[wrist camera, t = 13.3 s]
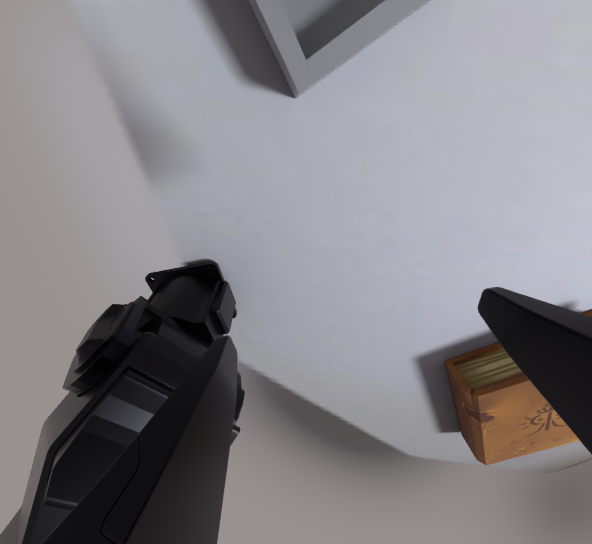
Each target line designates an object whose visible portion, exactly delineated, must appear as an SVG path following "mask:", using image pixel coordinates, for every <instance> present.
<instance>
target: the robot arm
mask: <svg viewBox="0 0 592 544" xmlns="http://www.w3.org/2000/svg"><path fill="white" fill-rule="evenodd" d="M210 266H213V267H214V269H212V268H211V267H210ZM151 278H153V279H154V280H152V279H151ZM145 280H146V282H147V283H148V285H149V287H150V289H151V290H152V292H153V293H152V295H151V296H150V298H149V299H148V300H146V299H145V298H143V297H142V296H140V297H139V298H138V299H137V300H135V301H134V302H131V303H129V304H128V305H127V304H125V305H120V304H112V305H111V306H110V307H109V308H108V309H107V310H106V311H105V312H104V313H103V314H102V315H101V316H100V317H99V318H98V319H97V321H96V322H95V323H94V324H93V325H92V326H91V328H90V329H89V330H88V331H87V333H86V335H85V336H84V338H83V340H82V341H81V343H80V344H79V346H78V347H77V349H76V355H75V356H74V358H73V361H72V363H71V366H70V369H69V371H68V374H67V377H66V379H65V382H64V385H63V389H65V390H68V391H70V392H69V393H68V395H67V396H66V397H65V398H64V399H63V401H62V402H61V403H60V404H59V405H58V407H57V408H56V409H55V410H54V411H53V412H52V413H51V415H50V416H49V417H48V418H47V420H46V421H45V422H44V424H43V427H42V430H41V434H40V438H39V442H38V446H37V449H36V454H35V457H34V461H33V465H32V469H31V473H30V477H29V480H28V484H27V488H26V492H25V496H24V500H23V504H22V506H21V508H20V509H19V511H18V512H17V513H16V515H15V516H14V518H13V519H12V520H11V521H10V523H9V524H8V525H7V527H6V528H5V529H4V531H3V532H2V533H1V534H0V544H217V540H218V532H219V525H220V517H221V510H222V503H223V495H224V487H225V480H226V473H227V465H228V458H229V450H230V446H231V444H232V443H233V441H234V440H235V438H236V437H237V435H238V434H239V432H240V427H238V426H236V422H237V420H238V418H239V414H240V411H241V408H242V406H243V401H244V393H245V392H244V390H243V389H242V388H241V376H240V373H239V372H238V370H237V351H236V348H235V346H234V344H233V342H232V339H231V337H230V336H223V335H224V334H228V333H229V331H230V327H231V322H232V318H235V317H236V315H237V311H236V308H235V304H236V301H235V299H234V296H233V294H232V291H231V289H230V286H229V284H228V282H226V281H224V278H223V276H222V273H221V271H220V268H219V266H218V264H217V263H216V262H206V263H200V264H195V265H190V266H185V267H179V268H174V269H169V270H163V271H159V272H153V273H149V274H148V275H147V276H146V278H145ZM478 311H479V313H480V315H481V317H482V318H483V319H484V321H485V322H486V324H487V325H488V327H489V328H490V330H491V331H492V333H493V334H494V335H495V337H496V338H497V340H498V341H499V343H500V344H501V346H502V347H503V348H504V350H505V351H506V352H507V354H508V355H509V356H510V358H511V359H512V360H513V361H514V362H515V364H516V365H517V366H518V367H519V368H520V370H521V371H522V372H523V373H524V374H525V375H526V377H527V378H528V379H529V380H530V381H531V383H532V384H533V385H534V386H535V387H536V389H537V390H538V391H539V392H540V393H541V395H542V396H543V397H544V398H545V399H546V401H547V402H548V403H549V404H550V405H551V407H552V408H553V409H554V410H555V411H556V413H557V414H558V415H559V416H560V417H561V419H562V420H563V421H564V422H565V423H566V425H567V426H568V427H569V428H570V429H571V430H572V432H573V433H574V434H575V435H576V436H577V438H578V439H579V440H580V441H581V442H582V444H583V445H584V446H585V447H586V448H587V450H588V451H589V452H590V453H591V454H592V317H590V316H587V315H583V314H580V313H577V312H574V311H571V310H568V309H565V308H562V307H559V306H556V305H553V304H550V303H547V302H544V301H540V300H537V299H534V298H531V297H528V296H525V295H522V294H519V293H516V292H513V291H510V290H507V289H504V288H500V287H493V288H487V289H485V290H484V291H483V292H482V295H481V298H480V301H479V304H478Z"/></svg>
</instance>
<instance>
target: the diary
mask: <svg viewBox="0 0 592 544" xmlns="http://www.w3.org/2000/svg"><path fill="white" fill-rule="evenodd" d="M582 314H583V315H587V316H590V317H592V310H590V311H587V312H585V313H582ZM446 368H447V372H448V376H449V381H450V385H451V390H452V394H453V398H454V403H455V407H456V411H457V416H458V420H459V425H460V429H461V433H462V436H463V438H464V439H465V441H466V443H467V444H468V446H469V448H470V449H471V451H472V453H473V454H474V456H475V457H476V459H477V460H478V461H480V462H481V463H483V464H485V465H489V464H493V463H497V462H500V461H504V460H508V459H512V458H515V457H519V456H523V455H527V454H531V453H534V452H538V451H542V450H546V449H549V448H553V447H557V446H561V445H565V444H568V443H572V442H576V441H580V440H579V439H578V438H577V436H576V435H575V434H574V433H573V432H572V430H571V429H570V428H569V427H568V426H567V425H566V423H565V422H564V421H563V420H562V419H561V417H560V416H559V415H558V414H557V413H556V411H555V410H554V409H553V408H552V407H551V405H550V404H549V403H548V402H547V401H546V399H545V398H544V397H543V396H542V395H541V393H540V392H539V391H538V390H537V389H536V387H535V386H534V385H533V384H532V383H531V381H530V380H529V379H528V378H527V377H526V375H525V374H524V373H523V372H522V371H521V370H520V368H519V367H518V366H517V365H516V364H515V362H514V361H513V360H512V359H511V358H510V356H509V355H508V354H507V352H506V351H505V350H504V348H503V347H502V346H501V344H500V343H499V342H498V343H495V344H492V345H489V346H487V347H484V348H481V349H478V350H475V351H472V352H469V353H466V354H464V355H461V356H458V357H455V358H452V359H449V360H447V361H446Z"/></svg>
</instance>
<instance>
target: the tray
mask: <svg viewBox="0 0 592 544" xmlns="http://www.w3.org/2000/svg"><path fill="white" fill-rule="evenodd" d="M248 1H249V3H250V5H251V8H252V10H253V12H254V14H255V16H256V18H257V20H258V22H259V24H260V26H261V28H262V30H263V33H264V35H265V37H266V39H267V41H268V43H269V45H270V47H271V49H272V51H273V53H274V55H275V58H276V60H277V62H278V64H279V66H280V68H281V70H282V72H283V74H284V76H285V78H286V80H287V83H288V85H289V87H290V89H291V91H292V93H293V95H294V97H295V98H297V97H298V96H299V95H301V94H302V93H303V92H305V91H306V90H308V89H309V88H310V87H312V86H313V85H314V84H316V83H317V82H319V81H320V80H321V79H323V78H324V77H325V76H327V75H328V74H330V73H331V72H332V71H334V70H335V69H336V68H338V67H339V66H341V65H342V64H343V63H345V62H346V61H347V60H349V59H350V58H352V57H353V56H354V55H356V54H357V53H358V52H360V51H361V50H362V49H364V48H365V47H367V46H368V45H369V44H371V43H372V42H373V41H375V40H376V39H378V38H379V37H380V36H382V35H383V34H384V33H386V32H387V31H389V30H390V29H391V28H393V27H394V26H395V25H397V24H398V23H400V22H401V21H402V20H404V19H405V18H406V17H408V16H409V15H411V14H412V13H413V12H415V11H416V10H417V9H419V8H420V7H422V6H423V5H424V4H426V3H427V2H428V1H430V0H248Z"/></svg>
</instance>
